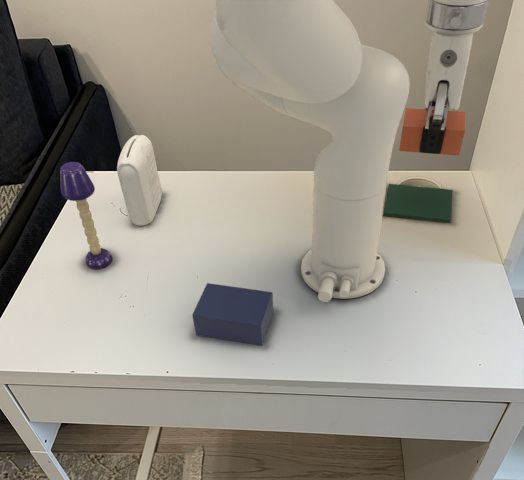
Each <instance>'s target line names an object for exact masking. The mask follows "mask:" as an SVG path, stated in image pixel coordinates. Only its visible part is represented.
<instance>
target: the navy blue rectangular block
mask: <svg viewBox="0 0 524 480" xmlns="http://www.w3.org/2000/svg"><path fill="white" fill-rule="evenodd" d="M273 295H274V294H273V291H267V290H260V289H253V288H246V287H239V286H232V285H226V284H225V285H224V284H217V283H211V282H207V283H206V285H205V287H204V288H203V291H202V294H201V295H200V297H199V300H198V302H197V304H196V306H195V307H194V310H193V313H192V315H191V316H192V320H193V325H194V331H195V335H196V336H200V337H206V338H212V339H220V340H224V341H231V342H236V343H243V344H249V345H257V346H263V344H264V341H265V338H266V335H267V332H268V330H269V328H270V327H269V326H270V323H271V320H272V318H273V315H274V299H273Z"/></svg>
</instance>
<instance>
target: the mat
mask: <svg viewBox="0 0 524 480" xmlns="http://www.w3.org/2000/svg"><path fill="white" fill-rule="evenodd" d="M453 191H454V190H453V189H448V188H447V189H446V188H437V187H426V186H417V185H416V186H414V185H405V184H396V183H395V184H394V183H388V186H387V190H386V195H385V201H384V207H383V214H382V217H383V216H384V217H392V218H401V219H412V220H420V221H430V222H439V223H449V224H450V223H451V222H452V211H453V210H452V209H453V208H452V207H453Z"/></svg>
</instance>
